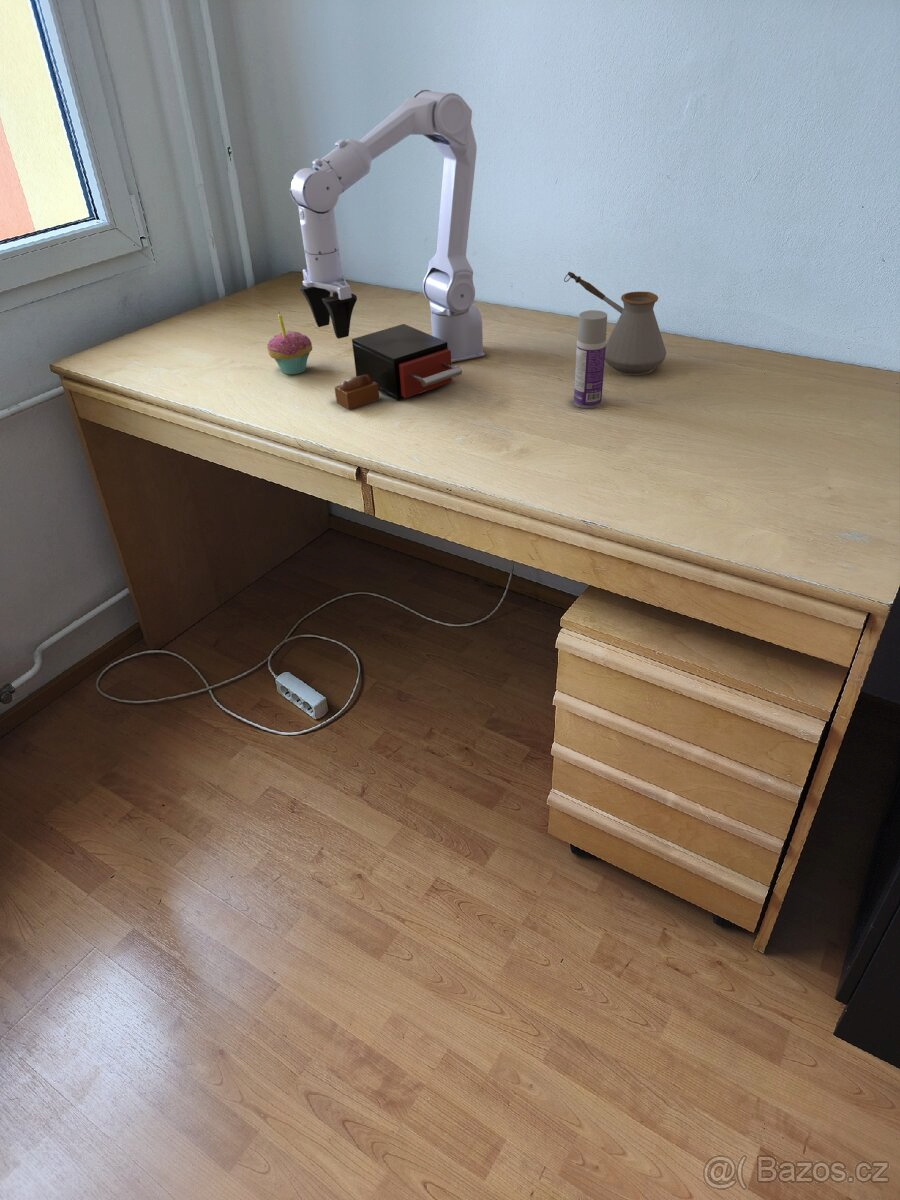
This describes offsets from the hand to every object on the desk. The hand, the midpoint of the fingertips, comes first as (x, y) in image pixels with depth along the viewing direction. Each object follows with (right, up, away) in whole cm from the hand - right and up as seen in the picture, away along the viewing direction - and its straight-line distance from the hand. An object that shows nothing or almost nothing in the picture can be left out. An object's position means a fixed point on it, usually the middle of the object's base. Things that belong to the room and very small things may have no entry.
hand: (332, 331), depth 141 cm
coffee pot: (+51, -3, +10) cm, 52 cm away
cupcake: (-10, -3, +14) cm, 17 cm away
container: (+44, -14, -4) cm, 47 cm away
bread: (+4, -12, 0) cm, 13 cm away
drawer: (+15, -8, +3) cm, 17 cm away
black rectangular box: (+12, -7, +7) cm, 15 cm away
